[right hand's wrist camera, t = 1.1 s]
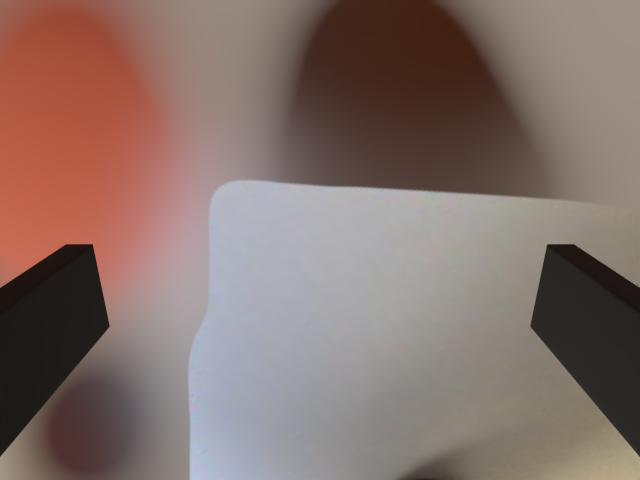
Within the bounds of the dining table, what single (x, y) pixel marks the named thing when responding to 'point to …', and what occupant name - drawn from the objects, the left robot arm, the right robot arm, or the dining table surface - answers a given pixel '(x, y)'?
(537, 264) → the dining table surface
